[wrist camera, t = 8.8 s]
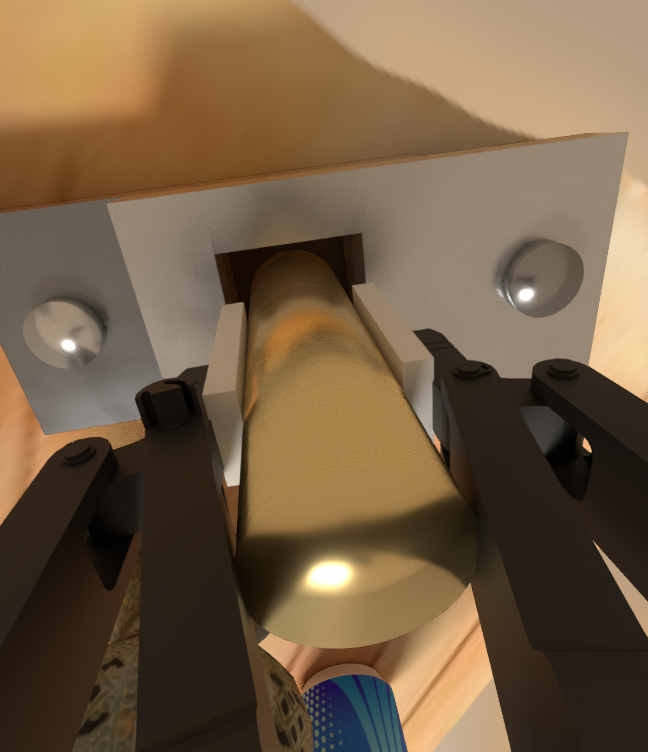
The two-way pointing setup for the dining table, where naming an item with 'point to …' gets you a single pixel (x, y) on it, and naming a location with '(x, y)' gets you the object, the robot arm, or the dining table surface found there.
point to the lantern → (120, 682)
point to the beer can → (352, 711)
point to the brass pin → (338, 475)
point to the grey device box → (303, 223)
